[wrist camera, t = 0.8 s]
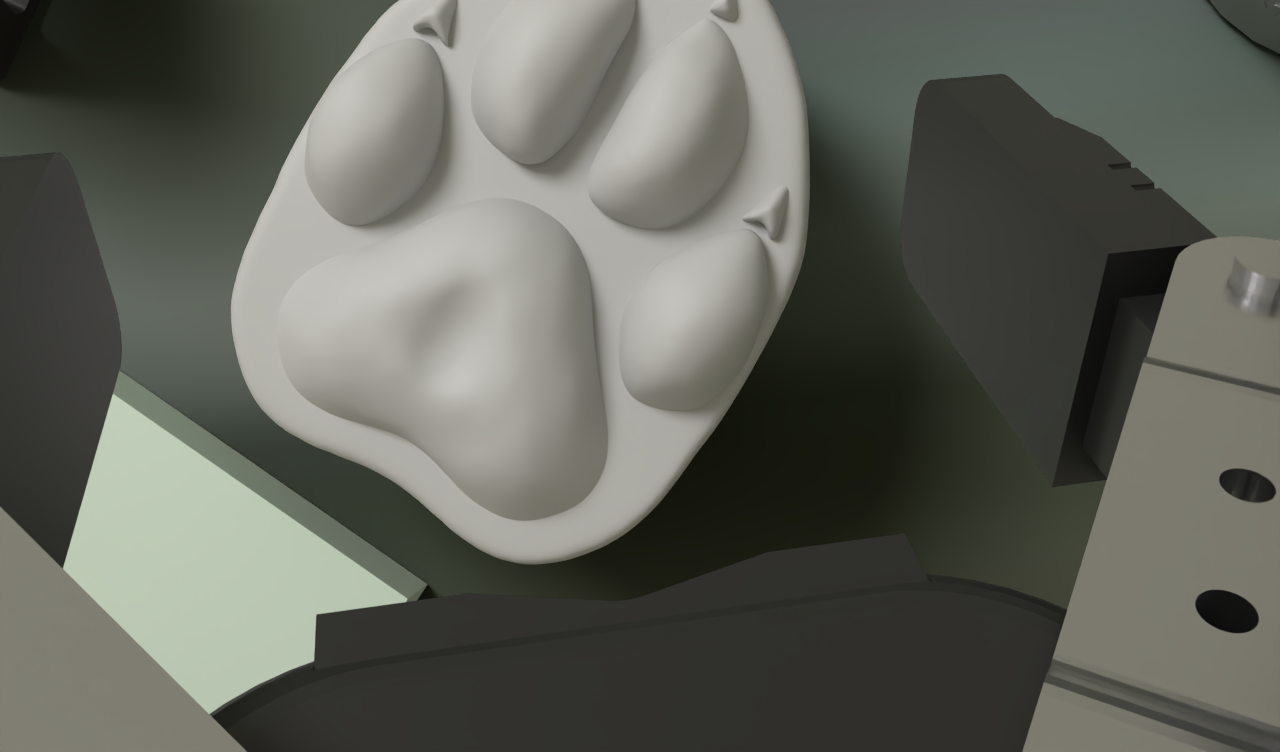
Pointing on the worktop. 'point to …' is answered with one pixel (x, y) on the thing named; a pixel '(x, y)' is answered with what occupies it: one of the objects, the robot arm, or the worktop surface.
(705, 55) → the lumpy-topped squat cylinder
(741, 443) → the worktop surface
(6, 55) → the phone stand
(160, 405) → the pocket frame
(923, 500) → the worktop surface
